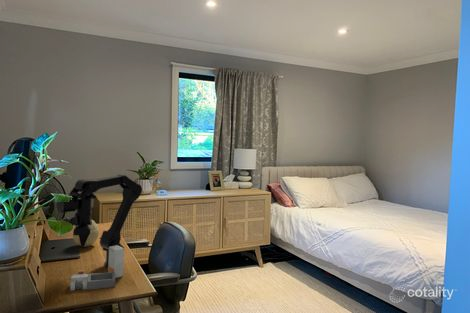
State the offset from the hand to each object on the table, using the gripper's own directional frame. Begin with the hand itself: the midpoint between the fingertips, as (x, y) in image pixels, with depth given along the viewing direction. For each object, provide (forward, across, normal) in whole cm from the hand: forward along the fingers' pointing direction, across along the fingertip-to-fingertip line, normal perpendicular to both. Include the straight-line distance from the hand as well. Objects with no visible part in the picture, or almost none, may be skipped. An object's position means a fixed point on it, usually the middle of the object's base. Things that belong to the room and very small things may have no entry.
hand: (82, 246), depth 144 cm
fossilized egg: (+12, -40, 0) cm, 41 cm away
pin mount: (+12, +13, 0) cm, 18 cm away
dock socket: (+12, +12, +8) cm, 19 cm away
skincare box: (+12, +4, +14) cm, 19 cm away
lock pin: (+12, +10, 0) cm, 16 cm away
